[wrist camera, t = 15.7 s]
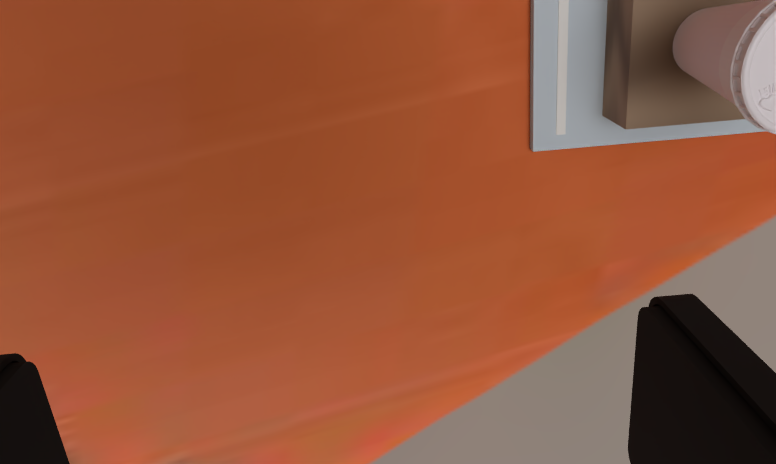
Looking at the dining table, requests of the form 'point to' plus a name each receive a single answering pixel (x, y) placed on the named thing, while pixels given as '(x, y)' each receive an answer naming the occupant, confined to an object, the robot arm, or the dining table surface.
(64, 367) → the dining table surface
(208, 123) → the dining table surface
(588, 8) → the base
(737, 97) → the smoothie
